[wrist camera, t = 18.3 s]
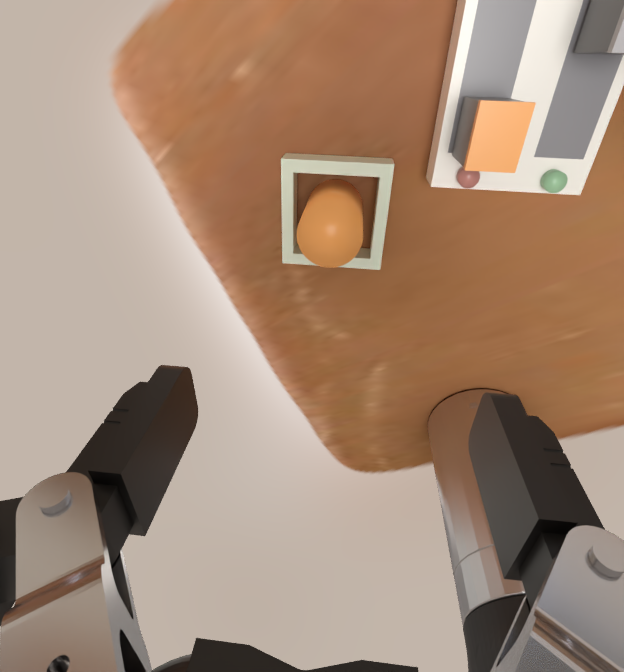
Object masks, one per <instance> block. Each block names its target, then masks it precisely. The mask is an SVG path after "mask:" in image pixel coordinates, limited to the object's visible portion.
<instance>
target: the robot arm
mask: <svg viewBox="0 0 624 672" xmlns="http://www.w3.org/2000/svg"><path fill="white" fill-rule="evenodd" d="M197 418H198V405H197V400H196V395H195V389H194V384H193V379H192V374H191V371H190V369H189V368H188V367H179V366H166V365H161V366H159V367H158V369H157V370H156V371H155V373H154V374H153V375H152V377H151V378H150V380H149V381H148V382H139V383H138V384H136V385H135V386H134V387H132V388H131V389H130V390H128V391H127V392H125V393H124V394H123V395H122V397H121V398H120V399H119V401H118V402H117V404H116V405H115V406H114V408H113V411H111V412H110V413H109V415H108V416H107V417H106V419H105V420H104V424H103V423H102V424H101V426H100V427H99V428H98V430H97V431H96V432H95V434H94V435H93V437H92V438H91V439H90V440H89V442H88V443H87V445H86V446H85V447H84V449H83V450H82V451H81V453H80V454H79V456H78V457H77V458H76V460H75V461H74V462H73V464H72V465H71V466H70V468H69V469H68V470H67V472H65V473H60V474H57V475H54V476H51V477H49V478H47V479H45V480H43V481H41V482H40V483H38V484H37V485H35V486H34V487H33V488H32V489H31V490H30V491H29V492H28V493H27V494H26V495H25V496H24V497H21V498H15V499H10V500H5V501H0V626H1V632H0V672H418V668H417V667H410V666H403V665H395V664H388V663H379V662H373V661H365V660H360V661H354V662H349V663H344V664H339V665H334V666H328V667H323V668H318V669H313V670H300V669H297V668H295V667H293V666H291V665H289V664H287V663H284V662H283V661H281V660H279V659H277V658H275V657H272V656H270V655H268V654H266V653H264V652H262V651H260V650H258V649H256V648H254V647H252V646H250V645H245V644H237V643H229V642H222V641H215V640H207V639H200V638H196V641H195V645H194V648H193V651H192V654H190V655H186V656H182V657H180V658H177V659H174V660H171V661H169V662H167V663H165V664H163V665H161V666H159V667H157V668H155V669H154V670H152V668H151V664H150V660H149V656H148V653H147V649H146V646H145V643H144V640H143V637H142V634H141V631H140V628H139V624H138V619H137V615H136V610H135V606H134V601H133V596H132V592H131V587H130V582H129V578H128V573H127V569H126V564H125V560H124V555H123V551H122V547H123V545H124V543H125V541H126V539H127V537H128V535H129V534H132V535H141V536H145V535H146V533H147V531H148V529H149V526H150V524H151V522H152V520H153V518H154V516H155V513H156V511H157V509H158V507H159V505H160V503H161V501H162V498H163V496H164V494H165V492H166V490H167V488H168V486H169V483H170V481H171V479H172V477H173V475H174V473H175V470H176V468H177V466H178V464H179V462H180V459H181V458H182V455H183V453H184V451H185V449H186V447H187V444H188V442H189V440H190V438H191V436H192V434H193V431H194V429H195V427H196V423H197ZM428 434H429V440H430V445H431V451H432V457H433V463H434V468H435V474H436V479H437V485H438V491H439V496H440V502H441V507H442V513H443V518H444V524H445V530H446V535H447V541H448V546H449V552H450V558H451V562H452V569H453V574H454V579H455V584H456V589H457V596H458V601H459V607H460V612H461V618H462V624H463V631H464V636H465V643H466V648H467V656H468V669H469V672H624V540H622V539H621V538H619V537H617V536H616V535H615V534H613V533H611V532H609V531H607V530H605V528H604V527H603V525H602V523H601V522H600V519H599V518H598V516H597V514H596V512H595V510H594V508H593V506H592V504H591V502H590V500H589V499H588V497H587V495H586V493H585V491H584V489H583V487H582V485H581V484H580V482H579V480H578V478H577V476H576V474H575V472H574V470H573V469H571V467H570V465H571V464H570V462H569V461H568V459H567V457H566V455H565V454H563V449H562V447H561V445H560V443H559V442H558V440H557V438H556V436H555V434H554V432H553V431H552V430H551V429H550V428H549V427H548V426H547V425H546V424H545V423H544V422H543V421H541V420H540V419H539V418H538V417H537V416H528V415H527V413H526V411H525V409H524V407H523V405H522V403H521V401H520V399H519V397H518V396H517V395H513V394H506V393H503V392H500V391H495V390H489V389H477V390H470V391H465V392H462V393H458V394H455V395H453V396H451V397H449V398H447V399H446V400H444V401H443V402H441V403H440V404H439V405H438V406H437V407H436V408H435V409H434V410H433V412H432V413H431V415H430V417H429V421H428ZM14 602H15V606H14V607H13V608H11V607H12V606H13V604H14Z"/></svg>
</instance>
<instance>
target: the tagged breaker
mask: <svg viewBox="0 0 624 672" xmlns="http://www.w3.org/2000/svg"><path fill="white" fill-rule="evenodd" d="M535 104H536V103H535V102H524V101H520V100H516V99H511V98H494V97H469V96H464V100H463V105H462V110H461V115H460V120H459V124H458V129H457V134H456V139H455V143H454V148H453V153H452V156H453V157H454V158H455V159H456V160H457V161H458V162H459V163H460V164H461V165H462V166H463V169H464V170H465V171H484V172H503V173H515V172H516V168H517V165H518V162H519V158H520V155H521V151H522V148H523V145H524V141H525V138H526V135H527V131H528V128H529V125H530V121H531V118H532V114H533V111H534V108H535Z"/></svg>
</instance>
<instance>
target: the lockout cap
mask: <svg viewBox="0 0 624 672" xmlns="http://www.w3.org/2000/svg"><path fill="white" fill-rule="evenodd" d="M297 242H298V245H299V248H300V250H301V252H302V253H303V255H304V256H305V257H306V258H307V259H308V260H309V261H311V262H312V263H314V264H316V265H319V266H322V267H328V268H333V267H339V266H342V265H345V264H346V263H348V262H350V261H351V260H352V259H353V258H354V257H355V256H356V255H357V254H358V252H359V250H360V248H361V246H362V242H363V203H362V199H361V196H360V194H359V192H358V191H357V189H356V188H355V187H354V186H353V185H351V184H350V183H348V182H346V181H344V180H339V179H332V180H327V181H324V182H322V183H321V184H319V185H318V186H317V187H316V188H315V189H314V190H313V191H312V193H311V195H310V197H309V199H308V202H307V204H306V207H305V209H304V212H303V214H302V217H301V219H300V222H299V224H298V228H297Z"/></svg>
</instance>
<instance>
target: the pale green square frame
mask: <svg viewBox="0 0 624 672" xmlns="http://www.w3.org/2000/svg"><path fill="white" fill-rule="evenodd" d="M393 171H394V162H393V158H376V157H356V156H337V155H317V154H297V153H285V155H284V156H283V157H282V158H281V198H282V263H289V264H303V265H316V264H314V263H312V262H311V261H309V260H308V259H307V258H306V257H305V256H304V255H303V253H302V252H301V250H300V248H299V245H298V244H297V173H312V174H331V175H349V176H368V177H378V183H377V192H376V200H375V209H374V218H373V226H372V235H371V244H370V248H360V250H359V252H358V254H357V255H356V256H355V257H354V258H353V259H352V260H351V261H350V262H348V263H346V264H345V265H342V266H339V267H345V268H360V269H374V270H380V267H381V260H382V253H383V245H384V238H385V230H386V223H387V216H388V208H389V201H390V193H391V186H392V179H393ZM317 266H319V265H317Z"/></svg>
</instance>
